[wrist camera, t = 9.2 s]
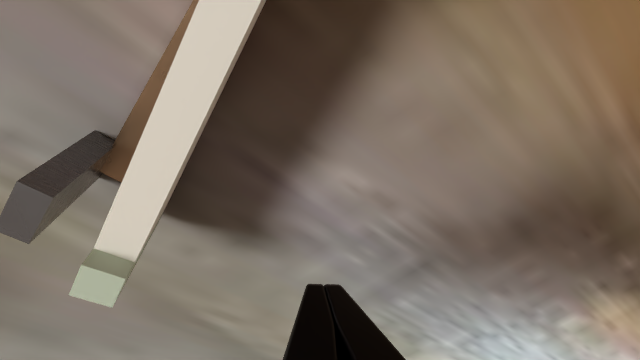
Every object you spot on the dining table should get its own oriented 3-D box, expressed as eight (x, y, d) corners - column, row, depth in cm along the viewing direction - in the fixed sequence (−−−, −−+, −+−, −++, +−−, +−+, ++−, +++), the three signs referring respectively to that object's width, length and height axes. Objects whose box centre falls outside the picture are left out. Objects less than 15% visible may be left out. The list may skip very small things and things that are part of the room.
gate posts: (282, -223, 13) (296, -517, 6) (356, -141, 14) (443, -298, 7) (75, 166, 18) (-52, 264, 11) (143, 200, 19) (69, 307, 12)
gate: (268, -105, 14) (267, -183, 8) (304, -78, 14) (324, -135, 9) (127, 214, 19) (68, 294, 13) (156, 225, 19) (112, 307, 14)
